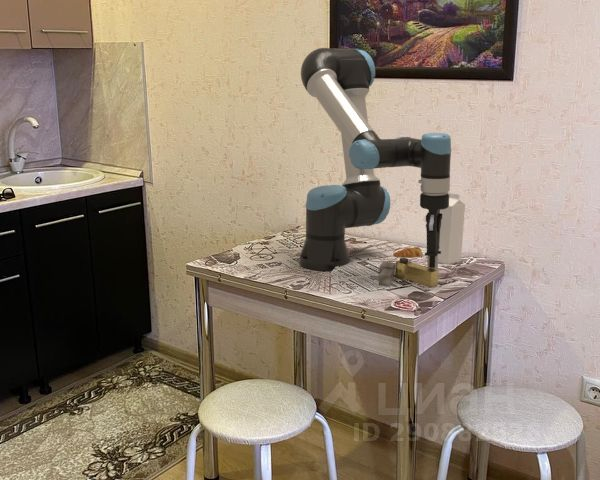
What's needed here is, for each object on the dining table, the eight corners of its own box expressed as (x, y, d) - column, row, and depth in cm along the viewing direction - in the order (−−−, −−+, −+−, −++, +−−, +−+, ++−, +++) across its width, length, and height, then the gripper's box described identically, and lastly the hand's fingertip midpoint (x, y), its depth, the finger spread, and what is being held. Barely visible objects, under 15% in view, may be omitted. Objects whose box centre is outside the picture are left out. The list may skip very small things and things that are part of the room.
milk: (447, 268, 198) (452, 195, 192) (432, 263, 202) (436, 192, 197) (460, 265, 201) (466, 193, 196) (445, 260, 206) (450, 190, 201)
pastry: (399, 263, 203) (399, 251, 202) (388, 258, 209) (388, 246, 208) (425, 261, 206) (426, 249, 205) (413, 255, 212) (414, 244, 211)
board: (365, 289, 177) (366, 267, 175) (382, 266, 199) (383, 246, 197) (430, 297, 172) (431, 274, 170) (439, 272, 194) (441, 251, 192)
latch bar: (391, 275, 185) (392, 261, 184) (402, 272, 188) (403, 259, 187) (428, 287, 175) (429, 272, 175) (439, 284, 178) (440, 269, 177)
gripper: (423, 187, 181) (421, 269, 188) (416, 197, 170) (414, 284, 176) (451, 188, 179) (448, 271, 185) (446, 198, 167) (443, 286, 174)
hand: (432, 277), depth 181 cm, fingers closed
